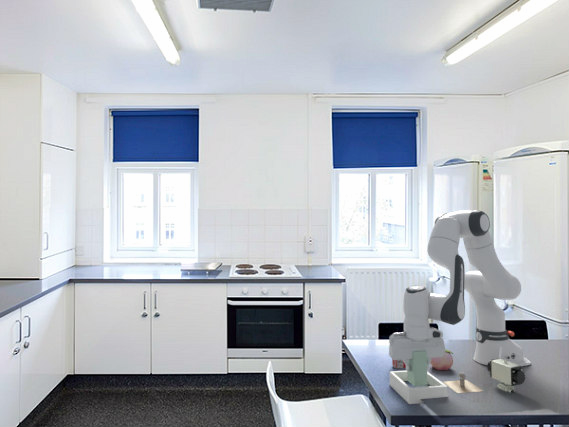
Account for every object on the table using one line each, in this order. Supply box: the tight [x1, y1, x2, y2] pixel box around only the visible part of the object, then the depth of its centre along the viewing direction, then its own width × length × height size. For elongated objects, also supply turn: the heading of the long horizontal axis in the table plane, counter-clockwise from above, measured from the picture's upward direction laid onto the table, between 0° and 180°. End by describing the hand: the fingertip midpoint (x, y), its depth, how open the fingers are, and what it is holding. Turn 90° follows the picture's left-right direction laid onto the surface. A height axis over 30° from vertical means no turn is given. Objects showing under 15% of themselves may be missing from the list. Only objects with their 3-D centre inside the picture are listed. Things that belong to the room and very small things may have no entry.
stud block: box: [442, 372, 484, 394], centre depth 144 cm, size 10×10×6 cm
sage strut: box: [407, 351, 428, 387], centre depth 143 cm, size 5×5×12 cm
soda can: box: [391, 358, 406, 370], centre depth 167 cm, size 7×7×13 cm
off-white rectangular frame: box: [389, 369, 449, 405], centre depth 143 cm, size 14×16×5 cm
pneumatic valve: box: [486, 358, 526, 394], centre depth 141 cm, size 6×12×12 cm, turn 24°
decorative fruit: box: [430, 348, 454, 371], centre depth 162 cm, size 9×8×10 cm
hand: (417, 370), depth 143 cm, fingers closed on sage strut, 5 cm apart
